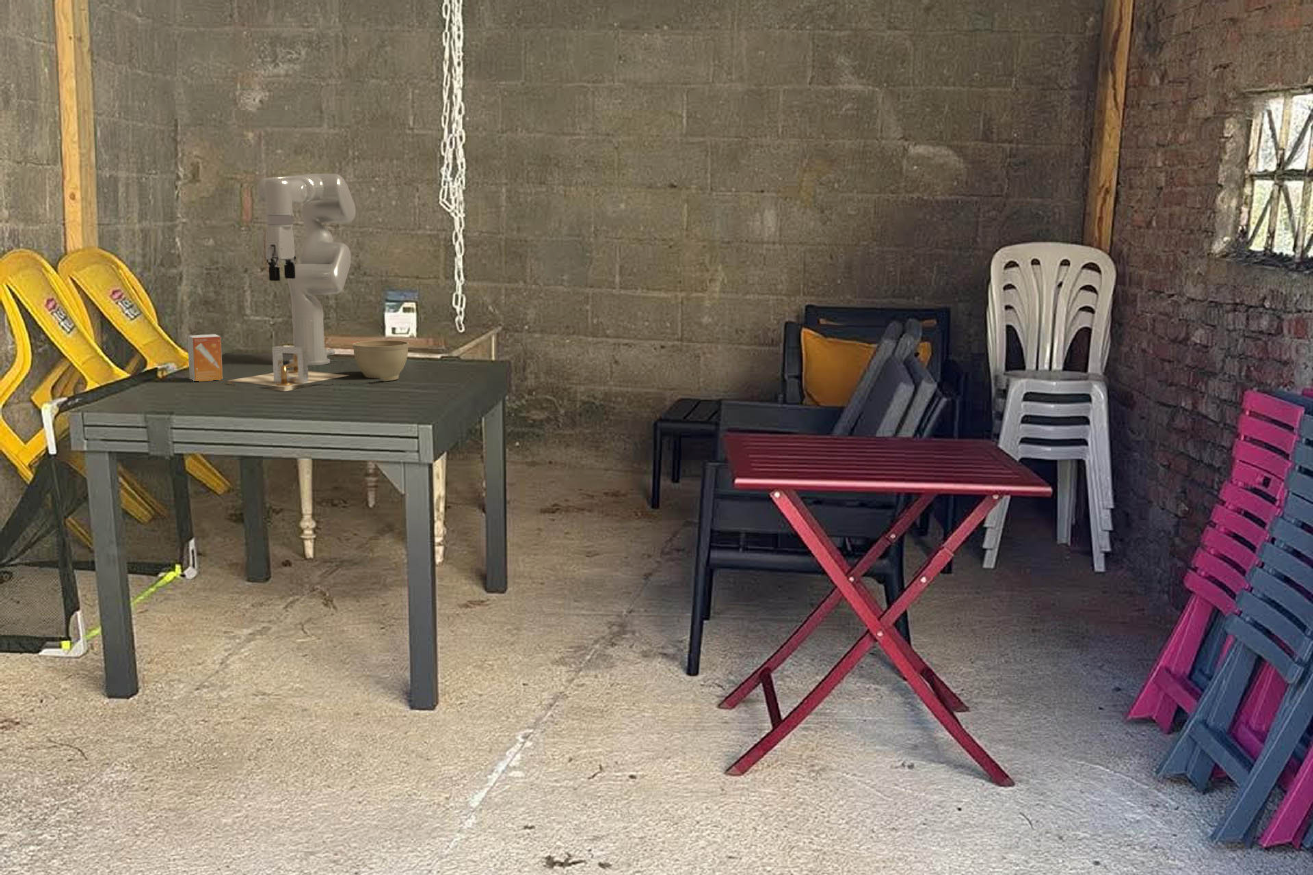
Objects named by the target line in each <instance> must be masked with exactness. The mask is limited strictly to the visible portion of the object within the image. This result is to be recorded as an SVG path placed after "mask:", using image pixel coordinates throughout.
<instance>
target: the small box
mask: <svg viewBox="0 0 1313 875" xmlns="http://www.w3.org/2000/svg"><path fill="white" fill-rule="evenodd" d="M186 339H187V353H188V354H187V355H188V359H187V360H188V372H189V374H188V375H189V380H190V379H192V380H193V381H192V380H191V381H192V382H194V381H199V382H214V381H213V380H219V381H222V380H221V379H224V378H223V360H222V358H223V355H222V342H221V341H222V340H221V339H222V338H221V336H220V335H218V334H216V333H213V334H212V333H211V334H196V335H195V334H194V335H187V337H186Z"/></svg>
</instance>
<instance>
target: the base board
mask: <svg viewBox="0 0 1313 875" xmlns="http://www.w3.org/2000/svg"><path fill="white" fill-rule="evenodd" d="M287 376H294V377H298V373H290V372H289V370H287ZM347 376H348V377H349V376H350V374H339V373H332V372H331V373H330V372H322V371H321V372H320V371H310V370H308V383H307V384H295V383H292V385H288V386H278V385H276V383H274V374H273V372H271V373H265V374H259V375H253V376H247V377H241V378H235V379H234V378H233V379H228V380H227V385H228V384H232V385H231V386H235V385H236V384H235V383H234V382H236V383H237V382H238V383H245V384H246V383H247V384H253V385H254V384H255V385H262V386H263V385H264V387H261V386H260V389H261V388H262V390H272V391H280V392H286V391H287V392H288V391H294V390H299V389H303V388H308V387H315V386H320V385H321V386H322V383H321V384H319V383H318V384H317V383H316V382H321V381H326V380H332V379H337V378H342V377H347ZM310 383H316V384H310Z"/></svg>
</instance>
